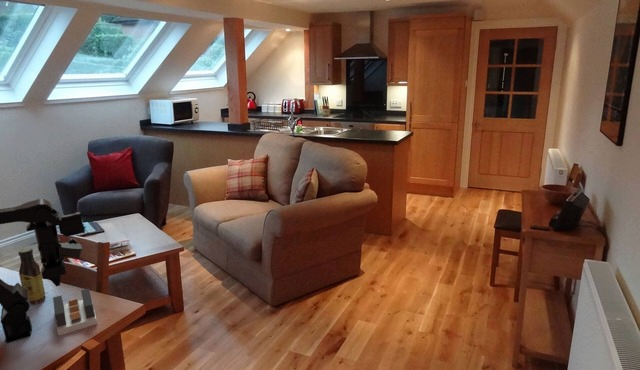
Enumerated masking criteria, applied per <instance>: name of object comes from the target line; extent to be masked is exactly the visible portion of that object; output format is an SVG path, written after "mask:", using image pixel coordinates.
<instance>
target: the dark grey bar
mask: <svg viewBox="0 0 640 370" xmlns="http://www.w3.org/2000/svg"><path fill="white" fill-rule="evenodd" d="M52 300H53V311H54V319H55V322H56V323H57V324H56V328H57V327H60V326H64V325H66V319H65V311H64V305H65V304H64V301H63V296H62V295H58V296H54V297H52Z"/></svg>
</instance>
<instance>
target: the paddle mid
mask: <svg viewBox="0 0 640 370" xmlns="http://www.w3.org/2000/svg"><path fill="white" fill-rule="evenodd" d="M69 309H70V313H74V312H77V311H79V306H78V305H74V306H71V307H69Z"/></svg>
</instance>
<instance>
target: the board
mask: <svg viewBox="0 0 640 370" xmlns="http://www.w3.org/2000/svg"><path fill="white" fill-rule="evenodd" d="M77 301H78V306H79V311H80V316H81V318H78V319H75V320H71V315H70V309H69V303H66V304H63V305H64V311H65V319H66V325H64V326H60V327H57V326H56V331H57V336H62V335H64V334H65V335H66V334H68V333H72V332H75V331H78V330H81V329H85V328H89V327H92V326H94V325H97V324H98V319H97V316H96V311H95V310H94V313H95V317H91V318H88V319H87V317H86V312H85V308H84V303H83V299H79V300H77ZM93 308H94V309H95V307H94V306H93ZM56 325H57V323H56Z"/></svg>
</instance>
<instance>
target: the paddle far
mask: <svg viewBox="0 0 640 370" xmlns="http://www.w3.org/2000/svg"><path fill="white" fill-rule="evenodd" d="M78 301H79V300H78V297H77V298H73V299H70V300H68V301H67V302H68V304H69V307H71V306H74V305H78Z"/></svg>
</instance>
